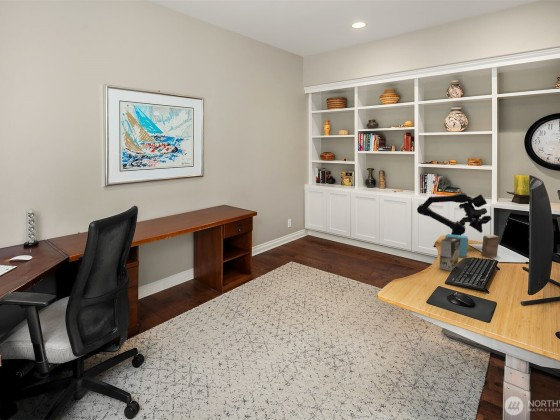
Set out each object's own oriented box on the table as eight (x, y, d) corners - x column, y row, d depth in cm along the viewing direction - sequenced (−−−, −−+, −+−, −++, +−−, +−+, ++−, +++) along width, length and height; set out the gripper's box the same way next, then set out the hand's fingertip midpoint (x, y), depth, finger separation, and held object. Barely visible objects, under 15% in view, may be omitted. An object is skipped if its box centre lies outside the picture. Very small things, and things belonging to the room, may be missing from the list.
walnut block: (481, 255, 203) (483, 235, 200) (491, 254, 204) (493, 234, 201) (486, 257, 199) (488, 237, 196) (496, 256, 200) (499, 236, 198)
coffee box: (451, 271, 180) (453, 242, 176) (438, 268, 184) (441, 239, 181) (458, 267, 186) (460, 238, 182) (446, 263, 190) (448, 236, 187)
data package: (466, 255, 204) (468, 235, 201) (466, 257, 200) (468, 237, 197) (443, 252, 209) (445, 233, 206) (443, 254, 205) (445, 235, 202)
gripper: (464, 204, 206) (475, 226, 198) (491, 202, 209) (503, 224, 201) (454, 214, 215) (465, 235, 207) (480, 212, 219) (491, 233, 210)
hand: (481, 232), depth 206 cm, fingers closed
